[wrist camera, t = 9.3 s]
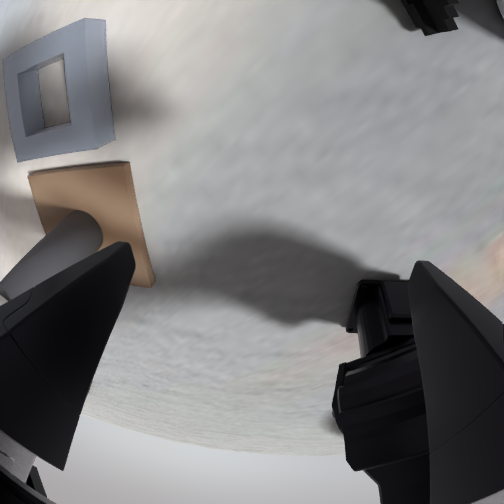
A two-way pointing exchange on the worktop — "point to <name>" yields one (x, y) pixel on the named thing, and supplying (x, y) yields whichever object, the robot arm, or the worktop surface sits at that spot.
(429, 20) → the security camera
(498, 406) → the robot arm
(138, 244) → the pad
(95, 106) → the blue-grey square ring
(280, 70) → the worktop surface
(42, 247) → the plug
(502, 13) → the mug
